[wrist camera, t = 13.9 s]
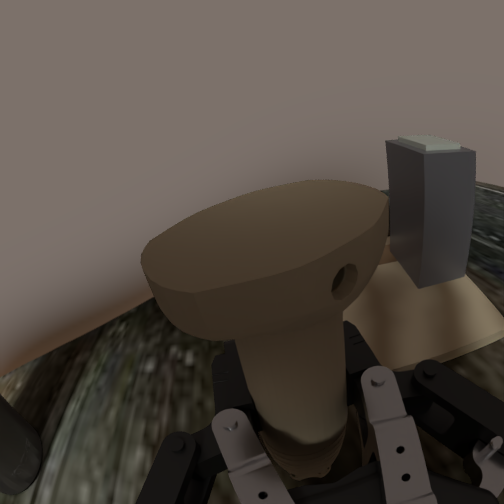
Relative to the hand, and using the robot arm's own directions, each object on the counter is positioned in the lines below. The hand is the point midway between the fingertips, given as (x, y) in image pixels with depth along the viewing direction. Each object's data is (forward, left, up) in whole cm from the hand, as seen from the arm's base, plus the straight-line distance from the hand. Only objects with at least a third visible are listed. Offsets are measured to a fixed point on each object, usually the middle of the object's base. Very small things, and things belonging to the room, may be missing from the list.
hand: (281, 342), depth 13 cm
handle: (0, -3, -8) cm, 9 cm away
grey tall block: (+16, +16, -8) cm, 24 cm away
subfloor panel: (+8, +13, -9) cm, 18 cm away
